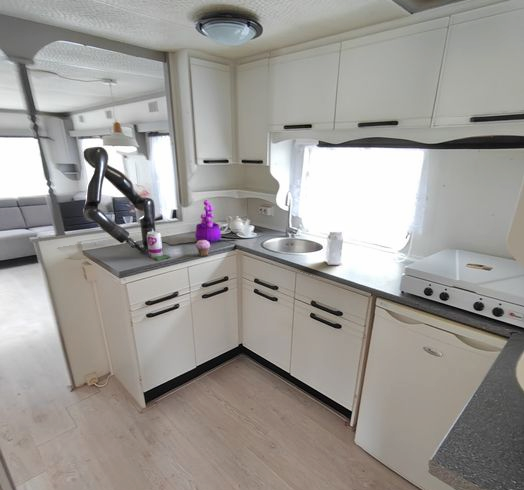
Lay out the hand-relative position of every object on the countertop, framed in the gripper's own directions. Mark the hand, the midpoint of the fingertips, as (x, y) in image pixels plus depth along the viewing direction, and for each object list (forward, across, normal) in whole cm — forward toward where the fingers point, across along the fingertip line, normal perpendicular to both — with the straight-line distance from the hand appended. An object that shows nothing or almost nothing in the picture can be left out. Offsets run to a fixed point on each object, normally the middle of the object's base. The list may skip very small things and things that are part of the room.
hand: (142, 250), depth 197 cm
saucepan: (+7, +14, 0) cm, 16 cm away
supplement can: (+9, 0, -2) cm, 9 cm away
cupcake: (+27, -15, -20) cm, 37 cm away
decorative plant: (+40, +14, -33) cm, 54 cm away
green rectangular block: (+10, -7, -3) cm, 12 cm away
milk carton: (+68, -72, -61) cm, 116 cm away
